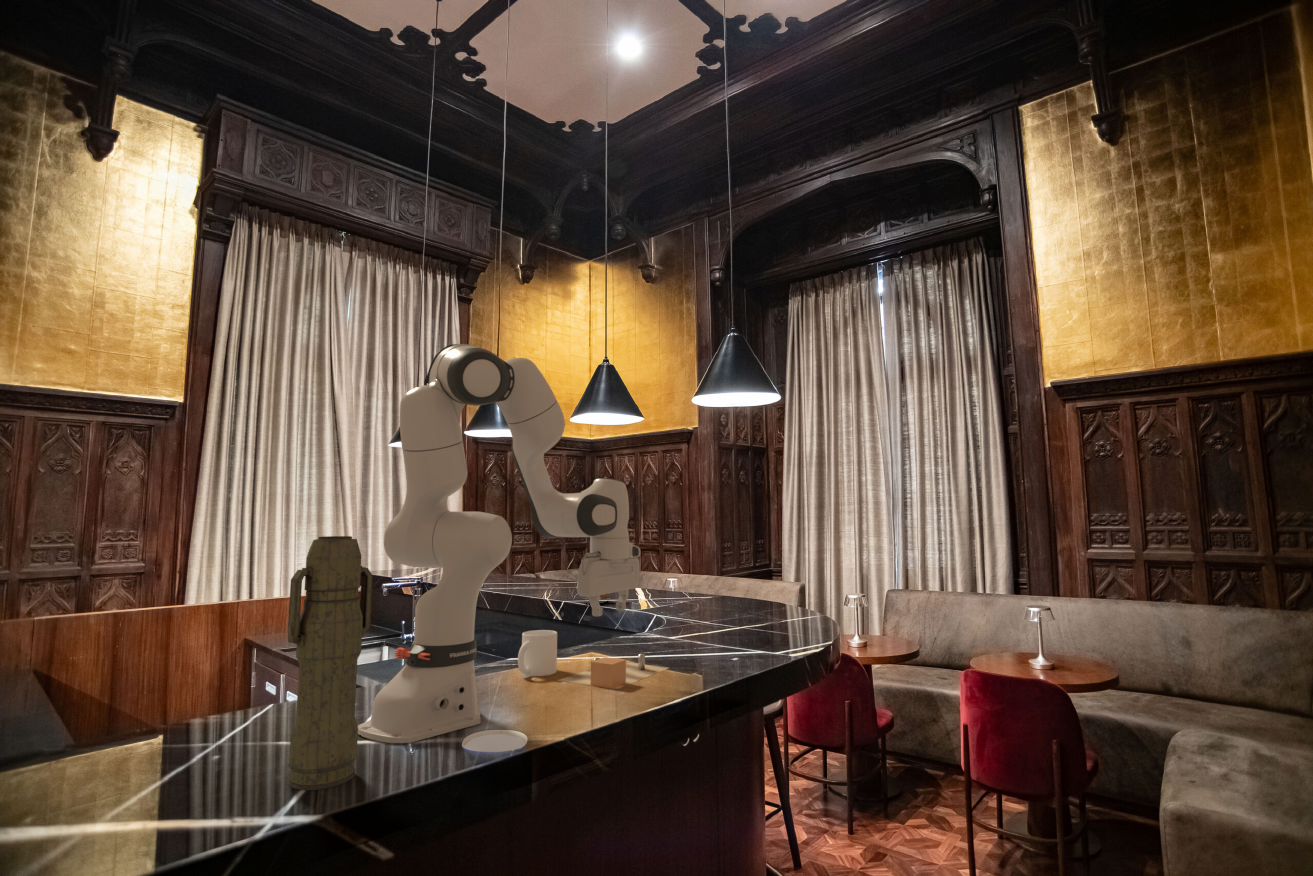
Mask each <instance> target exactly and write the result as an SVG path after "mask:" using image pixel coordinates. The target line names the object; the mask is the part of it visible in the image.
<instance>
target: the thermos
mask: <svg viewBox="0 0 1313 876" xmlns="http://www.w3.org/2000/svg"><path fill="white" fill-rule="evenodd" d="M359 545H360V544H359V543H358V539H357V538H353V536H350V535H349V536H348V535H345V536H344V535H342V536H341V535H340V536H338V535H334V536H325V535H324V536H318V539H313V540H312V541H311V545H310V547H309V550H308V553H307V555H306V558H305V561H306V562H305V567H302V568H301V569H297V570H296V572H295V573H294V574H293V576H292V577H291V579H290V586H289V587H290V588H289V589H290V590H289V603H288V605H289V606H288V622H287V638H288V639H287V641H288V643H290V644H294V645H296V654H295V657H296V660H297V662H298V679H297V681H298V682H297V693H296V694H297V696H296V697H297V699H296V714H295V725H294V728H293V730H292V733H291V736H290V745H289V763H288V767H289V768H290V774H289V775H290V777H289V782H288V783H289V786H290V787H291V788H292V789H294V790H298V791H299V790H300V791H319V790H326V789H330V788H335V787H338V786H340V785H342V784H345V783H347V782H349V781H351V780H353V778H354V777H355V776H356V775H355V773H356V768H355V763H356V758H357V757H358V736H359V734H358V725H359V724H358V723H357V719H356V717H355V716H356V715H355V714H356V697H357V676H358V659H359V657H360V656H361V654H362V641H363V637H364V636H365V634H366V633H367V632H368V631H369V630H370V629H371V616H372V614H371V613H372V597H373V596H372V595H373V594H372V593H373V576H374V575H373V574H372V573H371V571H370V569H369V568H368V567H365V566H362V553H361V548H360V546H359ZM303 579H304V591H305V599H303V608H302V610H301V605H302V604H301V603H302V588H303V585H302V584H303ZM359 589H360V595H359Z"/></svg>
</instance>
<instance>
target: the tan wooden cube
mask: <svg viewBox="0 0 1313 876" xmlns="http://www.w3.org/2000/svg"><path fill="white" fill-rule="evenodd" d="M626 662H627V659H624V658H623V659H622V658H614V657H602V658H601V657H600V659H598V660H595V661H593V660H592V661H590V669H591V685H592V686H591V687H595V686H599V687H598V688H602V687H605V688H604V689H609V688H614V687H617V686H619V685H622V684H624V683H626Z"/></svg>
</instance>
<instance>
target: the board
mask: <svg viewBox="0 0 1313 876" xmlns="http://www.w3.org/2000/svg"><path fill="white" fill-rule="evenodd" d="M665 670H670V667H666V666H657V665H651V664H650V665H649V664H645V670H638V663H634V662H627V661H626V683H624V684H622V685H619V686H617V687H614V688H608V689H611V690H615V691H616V690H619V689H621V688H623V687H626V686H628V685H631V684H634V683H636V682H638V681H640V680H643V679H646V678H649V677H651V676H653V675H656V674H658V673H661V672H663V671H665ZM556 682H562V683H569V684H575V685H576V684H577V685H583V686H589V687H593V686H592V685H591V668H590V669H587V670H583V671H581V672H578V673H575V674H572V675H570V676H566V677H562V678H561V679H558V680H556ZM594 687H597V688H600V687H599V686H594ZM601 688H603V689H606V688H605V687H601Z"/></svg>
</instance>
